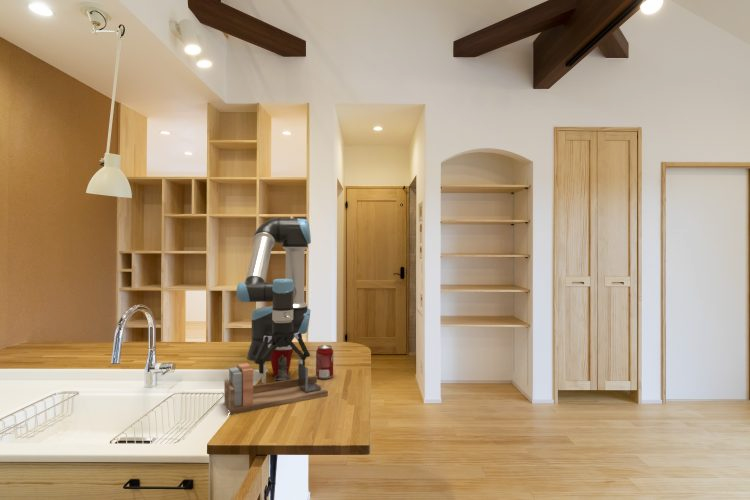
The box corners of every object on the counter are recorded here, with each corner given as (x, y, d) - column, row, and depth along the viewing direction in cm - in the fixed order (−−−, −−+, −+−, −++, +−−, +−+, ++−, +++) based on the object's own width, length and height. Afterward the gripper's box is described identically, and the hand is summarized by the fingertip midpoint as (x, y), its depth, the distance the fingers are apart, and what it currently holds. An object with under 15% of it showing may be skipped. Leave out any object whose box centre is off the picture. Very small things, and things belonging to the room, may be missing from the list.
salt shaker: (293, 385, 147) (293, 353, 147) (285, 390, 142) (285, 357, 142) (279, 383, 149) (280, 351, 149) (270, 388, 143) (271, 355, 143)
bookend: (298, 386, 141) (298, 363, 141) (313, 383, 144) (313, 361, 144) (305, 392, 135) (305, 368, 135) (321, 389, 138) (321, 366, 138)
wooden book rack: (224, 402, 130) (224, 364, 130) (315, 386, 147) (315, 352, 147) (230, 414, 121) (231, 373, 121) (327, 395, 137) (328, 359, 137)
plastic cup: (298, 376, 157) (298, 346, 157) (270, 380, 152) (270, 349, 152) (291, 369, 167) (291, 340, 167) (265, 372, 162) (265, 343, 162)
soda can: (330, 380, 153) (330, 349, 153) (313, 379, 154) (313, 348, 154) (335, 375, 160) (335, 345, 160) (319, 373, 161) (319, 344, 161)
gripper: (250, 325, 136) (249, 388, 136) (318, 319, 148) (318, 376, 148) (245, 322, 142) (244, 381, 142) (311, 317, 155) (310, 371, 155)
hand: (282, 379), depth 145 cm, fingers open, 13 cm apart
